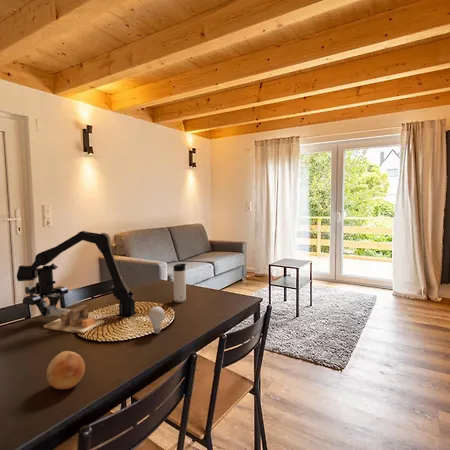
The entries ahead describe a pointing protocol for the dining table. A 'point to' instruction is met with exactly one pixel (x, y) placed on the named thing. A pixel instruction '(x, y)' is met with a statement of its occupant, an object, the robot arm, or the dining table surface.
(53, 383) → the onion
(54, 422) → the dining table surface
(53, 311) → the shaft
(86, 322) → the block
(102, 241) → the robot arm
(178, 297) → the travel mug
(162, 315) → the lightbulb
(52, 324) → the bearing stand
